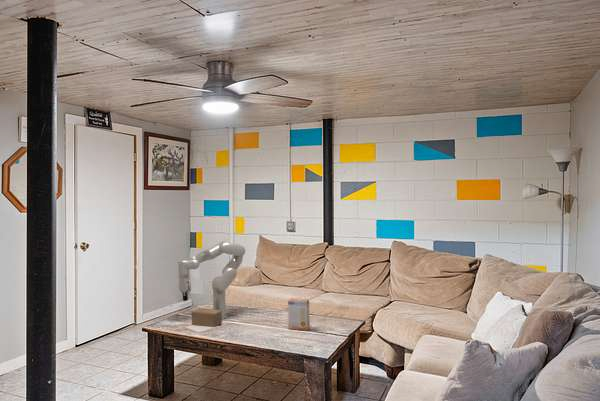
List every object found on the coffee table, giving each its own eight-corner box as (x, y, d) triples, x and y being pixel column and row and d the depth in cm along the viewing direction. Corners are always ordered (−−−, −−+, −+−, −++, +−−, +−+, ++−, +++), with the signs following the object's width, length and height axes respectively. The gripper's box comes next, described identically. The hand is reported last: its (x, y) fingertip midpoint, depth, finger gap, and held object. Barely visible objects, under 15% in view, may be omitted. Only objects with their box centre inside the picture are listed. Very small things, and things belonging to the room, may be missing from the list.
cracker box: (309, 328, 309) (309, 299, 308) (307, 331, 303) (306, 301, 303) (291, 326, 313) (290, 297, 313) (288, 329, 307) (287, 299, 307)
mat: (205, 322, 327) (205, 321, 327) (219, 327, 314) (219, 326, 314) (184, 327, 314) (184, 327, 314) (198, 333, 302) (198, 332, 302)
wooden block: (191, 325, 319) (215, 327, 313) (191, 311, 319) (215, 313, 312) (198, 321, 328) (222, 323, 322) (198, 307, 328) (222, 309, 322)
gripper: (193, 276, 327) (195, 300, 328) (183, 274, 337) (184, 298, 338) (185, 278, 322) (186, 303, 322) (174, 276, 332) (175, 300, 332)
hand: (185, 300), depth 330 cm, fingers closed
